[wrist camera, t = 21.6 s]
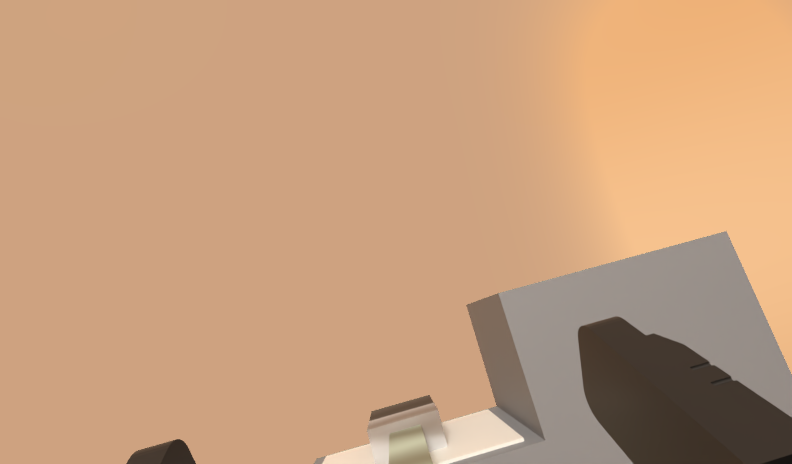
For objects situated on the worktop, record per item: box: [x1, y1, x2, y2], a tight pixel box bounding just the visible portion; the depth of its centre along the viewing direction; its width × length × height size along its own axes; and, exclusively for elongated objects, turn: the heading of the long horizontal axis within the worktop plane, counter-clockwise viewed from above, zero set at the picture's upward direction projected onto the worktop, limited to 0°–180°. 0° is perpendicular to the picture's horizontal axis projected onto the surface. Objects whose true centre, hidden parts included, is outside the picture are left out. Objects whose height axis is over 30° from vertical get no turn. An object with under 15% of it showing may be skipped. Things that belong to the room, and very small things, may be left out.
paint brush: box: [367, 395, 448, 464], centre depth 25 cm, size 21×5×2 cm, turn 1°
